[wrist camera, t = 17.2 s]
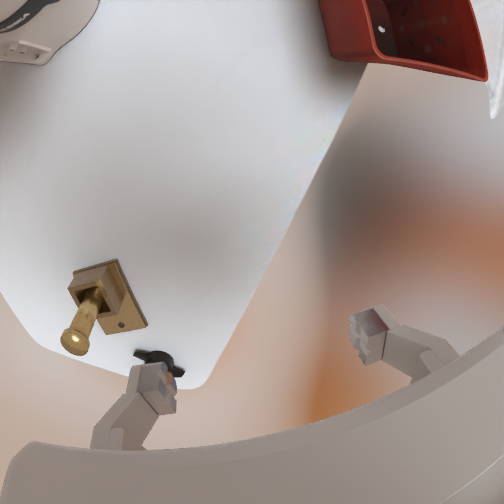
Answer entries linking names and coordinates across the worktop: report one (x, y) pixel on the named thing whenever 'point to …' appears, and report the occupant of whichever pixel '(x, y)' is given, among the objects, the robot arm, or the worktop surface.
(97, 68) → the worktop surface
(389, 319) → the robot arm
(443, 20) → the plant pot
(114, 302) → the brass socket plate
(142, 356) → the black ring with tabs
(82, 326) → the hinge pin
